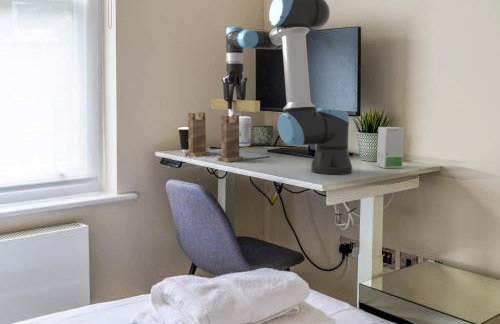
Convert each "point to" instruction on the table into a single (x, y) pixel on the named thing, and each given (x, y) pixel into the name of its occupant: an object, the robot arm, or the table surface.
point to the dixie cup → (184, 139)
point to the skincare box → (390, 147)
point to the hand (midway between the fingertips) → (234, 116)
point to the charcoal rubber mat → (241, 154)
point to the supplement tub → (244, 131)
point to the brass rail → (236, 105)
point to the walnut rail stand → (227, 137)
